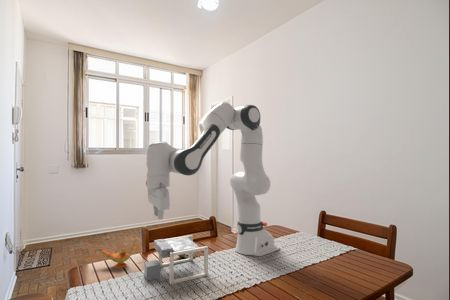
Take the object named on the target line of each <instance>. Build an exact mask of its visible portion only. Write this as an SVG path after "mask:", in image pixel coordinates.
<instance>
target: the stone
mask: <svg viewBox="0 0 450 300" xmlns="http://www.w3.org/2000/svg"><path fill="white" fill-rule="evenodd" d="M143 266H144V267H143V271H144V272H143V273H144V277H145V280H146V281H150V280H156V279H159V278H161V267H160V263H159V259H154V260H150V261H144V265H143Z"/></svg>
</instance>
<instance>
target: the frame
mask: <svg viewBox="0 0 450 300" xmlns="http://www.w3.org/2000/svg"><path fill="white" fill-rule="evenodd" d="M184 237H188V238H189V239H190V240H191V241H193V240H194V236H193V234H190V235H183V236H177V237H176V236H175V237H170V238H169V237H168V238H163V239H164V240H171V239H178V238H184ZM193 242H194V241H193ZM201 251H203V272H202V273H198V274H197V273H196V274H193V275H188V276H185V277H184V276H183V277H180V278H176V279H174V278H175V275H174V274H175V273H174V272H175V271H174V269H175V268H174V266H175V265H177V264H181V263H186V262H191V261H193V259H194V258H193V252H194V253H197V252H201ZM187 253H189V258H184V259H178V260H175V257H176V256H178V255H182V254H187ZM158 262H159V263H160V268H162V267H167V266H169V284H170V285H173V284H178V283H182V282H186V281H190V280H193V279H194V280H195V279H200V278H202V277H206V276H207V277H208V276H209V246H207V245H204V246H199V247H198V248H193V249H187V250H182V251H176V252H171V253H170V257H169V262H163V258H161V256H160V255H159V254H158Z"/></svg>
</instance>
